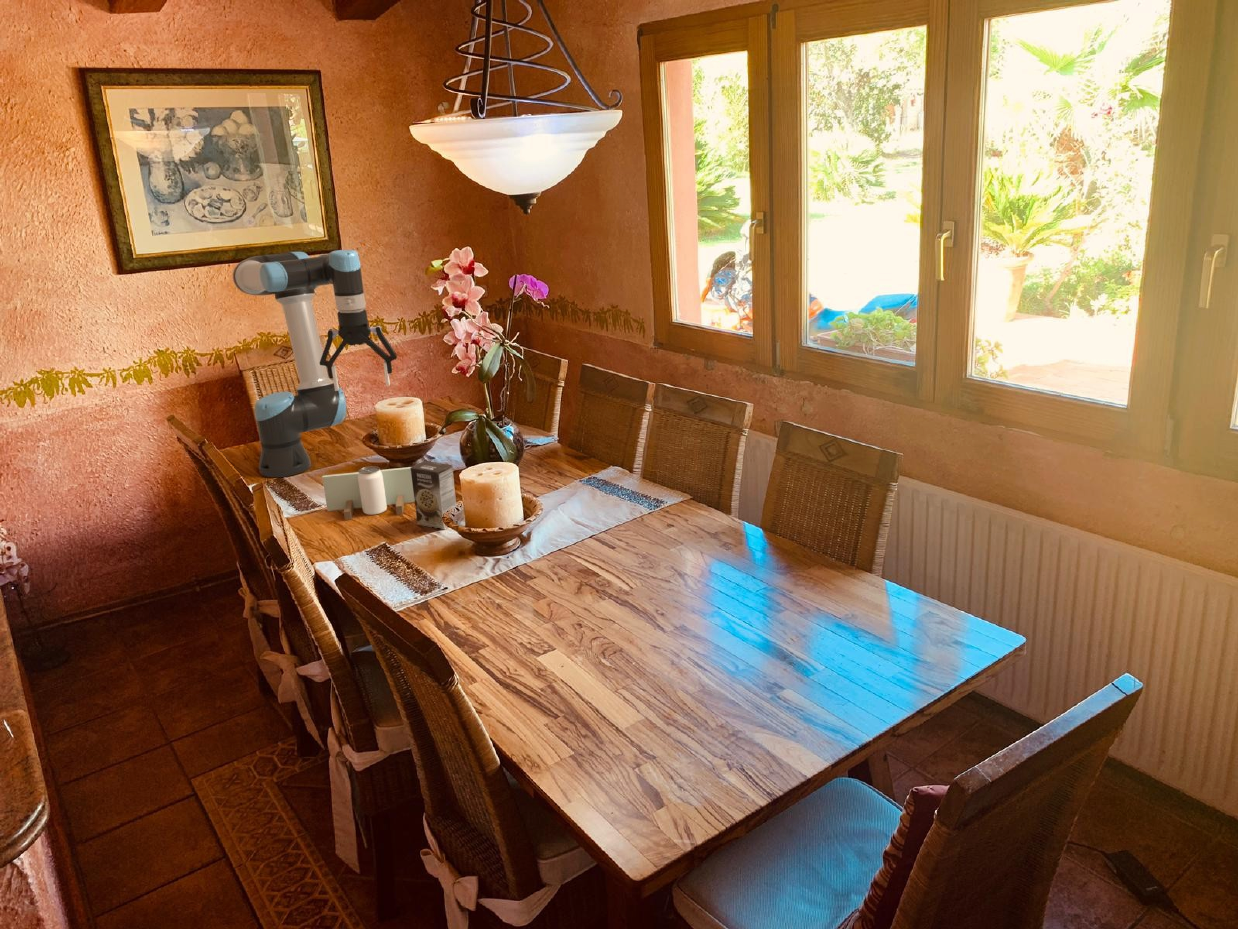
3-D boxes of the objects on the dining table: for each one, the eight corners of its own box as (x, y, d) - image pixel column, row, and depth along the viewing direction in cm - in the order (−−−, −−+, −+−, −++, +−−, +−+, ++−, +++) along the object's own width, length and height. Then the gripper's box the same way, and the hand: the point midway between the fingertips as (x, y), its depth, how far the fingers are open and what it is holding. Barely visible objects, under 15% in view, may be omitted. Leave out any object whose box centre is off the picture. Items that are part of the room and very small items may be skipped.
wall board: (328, 509, 254) (322, 475, 251) (423, 499, 258) (419, 466, 254) (324, 522, 246) (318, 487, 242) (423, 512, 249) (418, 477, 246)
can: (373, 517, 248) (367, 475, 243) (358, 512, 251) (351, 471, 247) (392, 509, 252) (386, 468, 248) (376, 504, 256) (370, 463, 252)
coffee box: (416, 525, 242) (408, 467, 236) (431, 515, 247) (424, 459, 241) (444, 530, 238) (437, 472, 232) (459, 521, 243) (452, 463, 237)
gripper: (300, 316, 239) (313, 394, 246) (398, 309, 243) (408, 386, 250) (304, 310, 246) (317, 387, 253) (400, 304, 250) (409, 379, 257)
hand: (362, 387), depth 252 cm, fingers open, 13 cm apart
